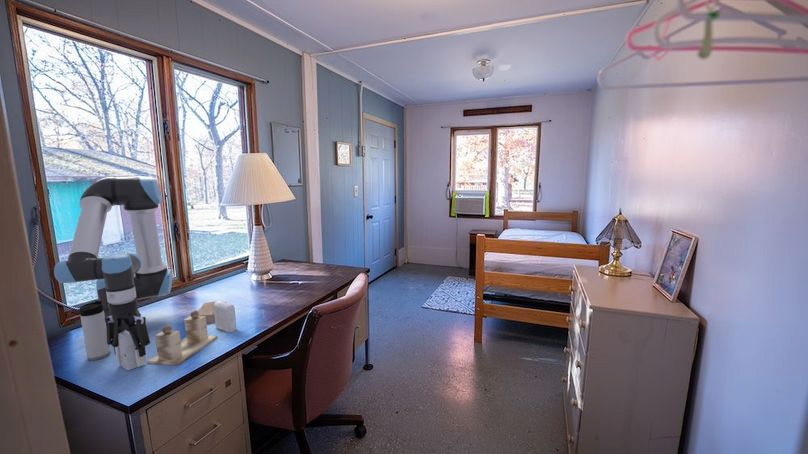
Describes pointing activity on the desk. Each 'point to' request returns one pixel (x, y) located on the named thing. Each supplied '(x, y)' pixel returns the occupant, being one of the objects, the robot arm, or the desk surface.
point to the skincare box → (127, 350)
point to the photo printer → (225, 316)
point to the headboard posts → (181, 341)
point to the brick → (207, 311)
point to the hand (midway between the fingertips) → (131, 363)
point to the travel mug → (94, 330)
